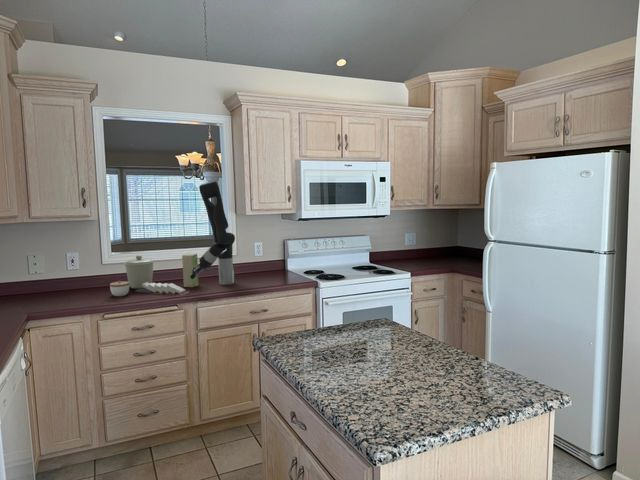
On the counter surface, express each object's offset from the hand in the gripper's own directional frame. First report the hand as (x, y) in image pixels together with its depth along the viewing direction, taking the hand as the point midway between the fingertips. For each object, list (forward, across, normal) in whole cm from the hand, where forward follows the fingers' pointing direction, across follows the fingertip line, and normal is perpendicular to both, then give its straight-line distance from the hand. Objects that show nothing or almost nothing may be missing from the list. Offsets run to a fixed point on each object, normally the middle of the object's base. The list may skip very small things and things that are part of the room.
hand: (191, 277), depth 267 cm
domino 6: (+11, 0, +2) cm, 11 cm away
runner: (+18, 0, -4) cm, 19 cm away
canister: (+39, -11, -24) cm, 47 cm away
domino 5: (+14, 0, -1) cm, 14 cm away
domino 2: (+23, 0, -10) cm, 25 cm away
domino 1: (+26, 0, -13) cm, 29 cm away
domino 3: (+20, 0, -7) cm, 21 cm away
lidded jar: (+37, +12, -22) cm, 44 cm away
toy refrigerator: (+17, -20, -2) cm, 26 cm away
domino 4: (+17, 0, -4) cm, 17 cm away
